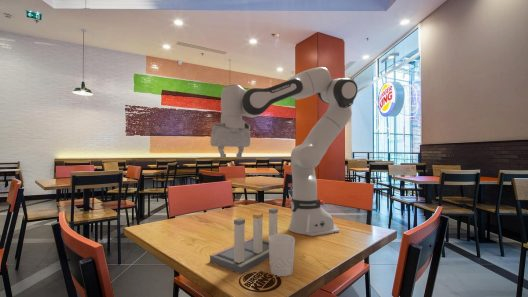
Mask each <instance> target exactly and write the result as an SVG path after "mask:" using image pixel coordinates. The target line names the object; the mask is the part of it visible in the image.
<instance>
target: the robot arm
mask: <svg viewBox="0 0 528 297" xmlns="http://www.w3.org/2000/svg"><path fill="white" fill-rule="evenodd" d="M358 89H359V87H358V85H357V83H356V81H355V80H353V79H351V78H349V77H342V78H335V79H334V78H332V76H331V73H330V71H329V70H328V68H326V67H323V66H319V67H317V66H316V67H314V68H309V69H306V70H303V71H301V72H299V73H297V74H295V75H293V76H291V77H290V78H288V79H287V80H286V81H283V82H281V83H278V84H276V85H273V86H269V87H266V88H260V87H255V88H250V89H248V90H247V89H245V88H243V87H242V86H241V85H240V84H230V85H227V86H225V87H223V89H222V90H221V98H220V109H221V115H220V122H219V123H218V122H215V123H213V125H212V126H211V133H210V145H211V147H217V150H218V152H219V154H220V156H219V157H220V159H226V158H227V153H225V147H226V148H227V147H229V148H234V147H235V148H237V150H238V151H237V153H235V154H236V158H237V159H239V158H242V157H243V153H244V151H245V150H244V148H249V147H250V145H251V131H250V130H251V125H250V124H249V123H247V122H246V121H245V120H243V117H248V118H256V117H258V116H260V115H261V114H264V113H265V111H267V109H269V107H270V106H271V105H273V104H276V103H278V102H281V101H283V100H286V99H288V98H293V99H294V100H296V101H298V100H303V99H306V98H308V97H312V96H314V95H317V97H318V98H319V100H320V101H322V102H323V103H324V104H328V107H327V110H326V112H325V113H324V114H322V116H321V117H320V119H318V121H317V122H316V123H315V125H314V126H313V127H312V128H311V130H310V131H309V133H308V135H307V136H306V137H305V138H304V140H303V141H302V143H301V144H299V145H297V146H295V147H294V148H293V149H292V151H291V153H290V164H291V165H290V166H291V177H292V178H291V179H292V198H291V203H290V206H291V207H290V208H291V216H290V223H289V226H288V230H289V231H290V232H292V233H295V234H300V235H306V236H309V237H315V236H321V235H328V234H334V232H335V233H339V232H340V228H339V227H338V226H337V225H336V224H335V222H334V218H333V217H332V215H331V214H330V213H329V212H327V210H325V209H324V208H323V207H321V206H324V205H325V201H324V200H323V199H318V180H317V177H316V170H315V168H316V167H318V165H320V163H321V161H322V159H323V157H324V156H325V154H326V153H327V151H328V149H329V147H330V146H331V145H332V144H333V142H334V141H335V139H337V137H338V136H339V135H340V133H341V132H342V131H343V129H344V128H345V127H346V125H347V124H348V122H349V121H350V119H351V117H352V114H353V113H352V112H353V111H352V109H351V108H350V107H351V106H353V104H354V100H355V99H356V97H357V95H358V91H359V90H358Z"/></svg>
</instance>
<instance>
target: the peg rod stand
mask: <svg viewBox="0 0 528 297" xmlns="http://www.w3.org/2000/svg"><path fill="white" fill-rule="evenodd" d="M278 212H279V209H278V208H275V207H272V208H269V209H268V238H269V237H270V236H272V235H276V234H278ZM245 223H246V219H244V218H241V217H240V218H237V219H233V224H234V228H233V229H234V231H233V232H234V233H233V235H234V236H233V239H234V240H233V242H234V243H233V245H232V246H229V247H226V248H224V249H221V250H219V251H217V252H215V253H212V254H211V255H209V262H210V263H211V264H214V265H217V266H219V267H222V268H224V269H227V270H229V271H233V272H235V273H237V274H240V275H242V274H244V273H245V272H248V271H249V270H251V269H253V268H254V267H257V266H258V265H259V264H261V263H264V262H265V261H267V260H270V259H269V241H266V240H264V239H262V252H260V253H258V254H257V253H254V252H253V237H250V238H249V239H248V238H247V239H245V237H246V236H245V235H246V234H245V233H246V232H245V230H246V229H245V228H246V227H245Z"/></svg>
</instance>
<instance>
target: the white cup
mask: <svg viewBox="0 0 528 297" xmlns="http://www.w3.org/2000/svg"><path fill="white" fill-rule="evenodd" d="M268 242H269V259H268V260H269V264H270V265H269V267H270V268H269V269H270V270H269V272H270V273H271V275H273V274H274V275H273V276H275V275H277V276H276V277H280V276H285V277H288V276H287V275H289V276H291V275H292V274H293V273H294V270H293V269H294V262H295V261H294V260H295V244H296V243H295V242H296V239H295V237H294V236H293V235H291V234H286V233H277V234H276V235H272V236H270V237H269V236H268Z"/></svg>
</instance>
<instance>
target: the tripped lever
mask: <svg viewBox="0 0 528 297" xmlns="http://www.w3.org/2000/svg"><path fill="white" fill-rule="evenodd" d="M252 218H253V221H252V226H253V229H252V238H253V252H254V253H257V254H258V253H260V252H262V240H263V218H264V213H260V212H256V213H252Z"/></svg>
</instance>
